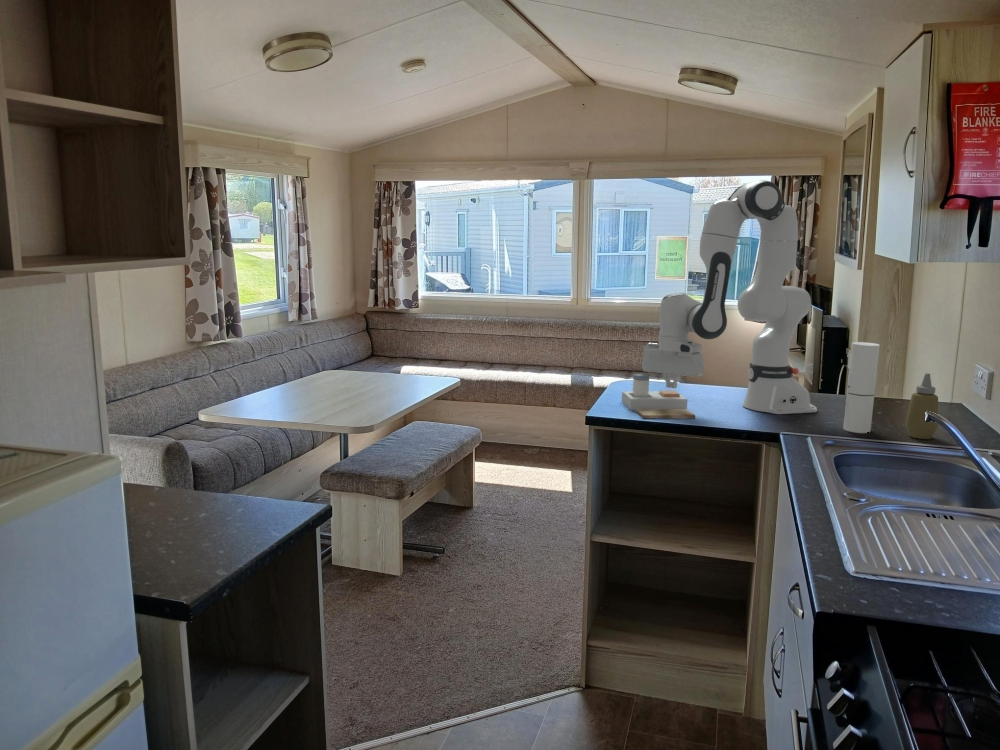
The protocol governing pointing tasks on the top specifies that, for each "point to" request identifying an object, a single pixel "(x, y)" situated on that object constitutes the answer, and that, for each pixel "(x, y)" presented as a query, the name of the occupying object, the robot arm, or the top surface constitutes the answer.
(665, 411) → the cork pad
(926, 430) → the squeeze bottle
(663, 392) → the orange brown block
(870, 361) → the cylindrical container
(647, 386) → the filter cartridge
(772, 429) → the top surface
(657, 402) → the block
